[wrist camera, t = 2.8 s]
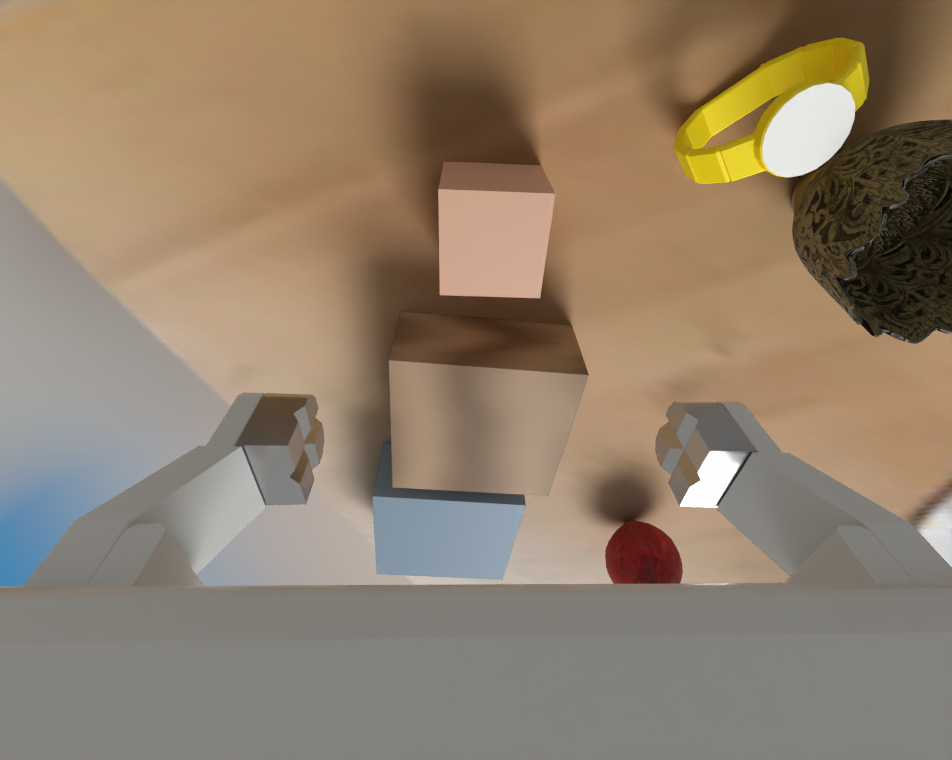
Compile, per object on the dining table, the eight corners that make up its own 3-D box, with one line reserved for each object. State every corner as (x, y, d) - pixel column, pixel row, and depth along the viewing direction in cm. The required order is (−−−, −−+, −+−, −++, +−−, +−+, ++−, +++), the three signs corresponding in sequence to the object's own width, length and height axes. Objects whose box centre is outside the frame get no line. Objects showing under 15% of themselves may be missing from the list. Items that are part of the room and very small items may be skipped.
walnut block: (571, 323, 26) (588, 375, 22) (539, 439, 32) (548, 495, 28) (401, 309, 25) (388, 360, 21) (402, 430, 31) (392, 487, 28)
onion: (596, 505, 37) (621, 603, 31) (666, 497, 36) (707, 595, 30) (596, 542, 40) (619, 636, 34) (660, 536, 40) (695, 630, 34)
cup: (891, 46, 18) (1123, 56, 11) (935, 183, 21) (1133, 249, 15) (716, 186, 21) (821, 253, 15) (778, 285, 24) (885, 374, 18)
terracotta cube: (540, 164, 20) (555, 193, 17) (529, 257, 23) (540, 298, 20) (443, 161, 20) (438, 189, 17) (444, 254, 23) (439, 295, 19)
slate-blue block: (518, 448, 33) (525, 505, 29) (499, 524, 39) (502, 579, 35) (384, 439, 32) (372, 496, 28) (386, 518, 38) (376, 573, 34)
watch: (796, 16, 17) (918, 11, 12) (811, 85, 18) (927, 104, 14) (649, 123, 19) (707, 153, 15) (673, 177, 21) (732, 220, 16)
